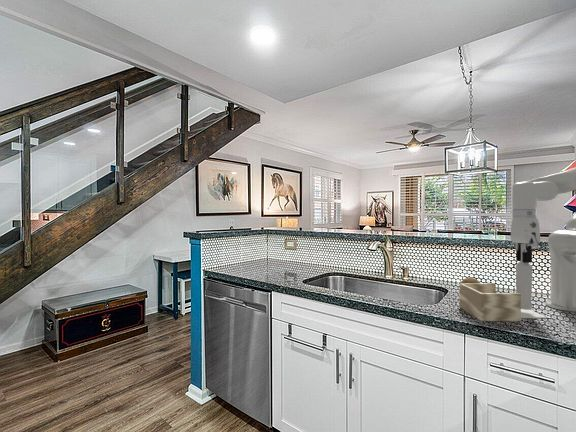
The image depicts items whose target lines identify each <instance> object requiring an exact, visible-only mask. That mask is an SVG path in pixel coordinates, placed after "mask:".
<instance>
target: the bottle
mask: <svg viewBox="0 0 576 432" xmlns="http://www.w3.org/2000/svg"><path fill="white" fill-rule="evenodd" d="M520 245H521V261H518V263H516V264H515V287H516V288H515V291H516V292H515V293H520V294H521V309H525V310H532V309H533V304H532V292H533V291H532V290H533V287H532V286H533V265H531V263H524V262H522V252H524V247H523V244H520Z"/></svg>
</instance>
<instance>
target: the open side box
mask: <svg viewBox="0 0 576 432" xmlns="http://www.w3.org/2000/svg"><path fill="white" fill-rule="evenodd" d="M496 286H497V285H496V283H492V282H491V283H490V282H489V283H486V282H485V283H483V282H482V283H481V282H480V283H461V282H459V308H460V309H462V310H463V311H465V312H466V313H468V314H470V315H471V316H472V317H474V318H476V319H478V320H479V321H481V322H521V321H522V318H521V294H520V293H516V292H499V293H498V292H496V288H497V287H496Z"/></svg>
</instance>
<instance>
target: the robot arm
mask: <svg viewBox="0 0 576 432" xmlns="http://www.w3.org/2000/svg"><path fill="white" fill-rule="evenodd" d="M511 188H512V189H511V190H512V192H511V193H512V194H511V195H512V196H511V197H512V199H511V201H512V205H511V206H512V209H511V210H512V211H511V212H512V215H511V217H512V218H511V227H510V240H511V244H512V245H513V246H514V250H515V253H516V254H515V256H516V257H515V260H516V261H517V262H520V261H521V244H523V247H524V252H522V262H524V263H529V264H531V263H533V253H534V249H536V248H538V247H539V244H540V243H541V231H540V223H539V219H538V217H537V214H538V213H537V203H538V202H546V201H552V200H554V199H555V198H557V197H558V195H560V194H567V193H570V192H572V191H576V167H573V168H569V169H567V170H564V171H561V172H556V173H554V174H549V175H545V176H541V177H538V178H537V177H536V178H534V179H529V180H525V181H520V182H515V183H514V184H513V185H512V187H511ZM547 246H548V250H549V256H550V299H548V300H546V301H545V305H546V306H547V307H549V308H552V309H556V310H560V311H566V312H572V313H576V211H575V212H574V214H573V215H572V216H571V217H570V218H569V219H568V220H567V222H566V223H565V230H564V229H563V230H561V229H560V230H556V231H553V232H551V233H550V234H549V235H548V237H547Z"/></svg>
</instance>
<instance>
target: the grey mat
mask: <svg viewBox="0 0 576 432" xmlns="http://www.w3.org/2000/svg"><path fill="white" fill-rule="evenodd" d="M521 319H548V316H545V315H543V314H540V313H538V312H536V311H534V310H532V309H531V310H525V309H521Z"/></svg>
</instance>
